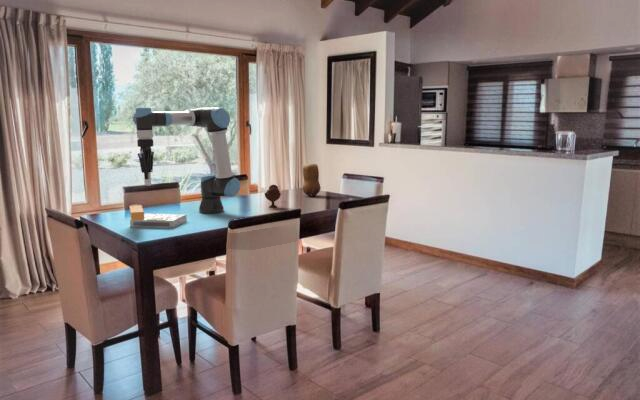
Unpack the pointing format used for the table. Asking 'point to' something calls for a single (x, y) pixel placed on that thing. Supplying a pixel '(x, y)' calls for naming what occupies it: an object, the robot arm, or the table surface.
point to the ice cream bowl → (273, 195)
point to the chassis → (159, 221)
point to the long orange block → (136, 212)
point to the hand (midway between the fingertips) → (148, 185)
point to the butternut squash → (311, 179)
